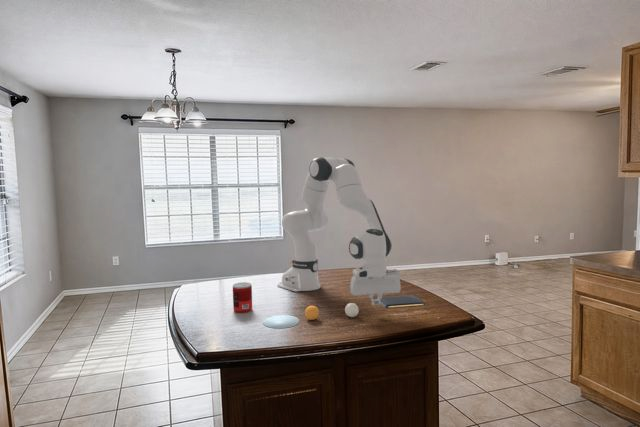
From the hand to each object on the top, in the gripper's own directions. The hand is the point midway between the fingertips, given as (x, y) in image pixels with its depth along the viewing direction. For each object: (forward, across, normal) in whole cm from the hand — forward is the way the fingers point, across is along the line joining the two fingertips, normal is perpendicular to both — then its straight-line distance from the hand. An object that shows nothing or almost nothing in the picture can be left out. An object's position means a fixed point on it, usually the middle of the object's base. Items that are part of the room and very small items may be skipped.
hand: (375, 304), depth 169 cm
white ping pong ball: (+2, +10, 0) cm, 10 cm away
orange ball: (+2, +26, 0) cm, 26 cm away
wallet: (+5, -16, -14) cm, 22 cm away
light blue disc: (+4, +38, 0) cm, 38 cm away
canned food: (+4, +53, -18) cm, 56 cm away
